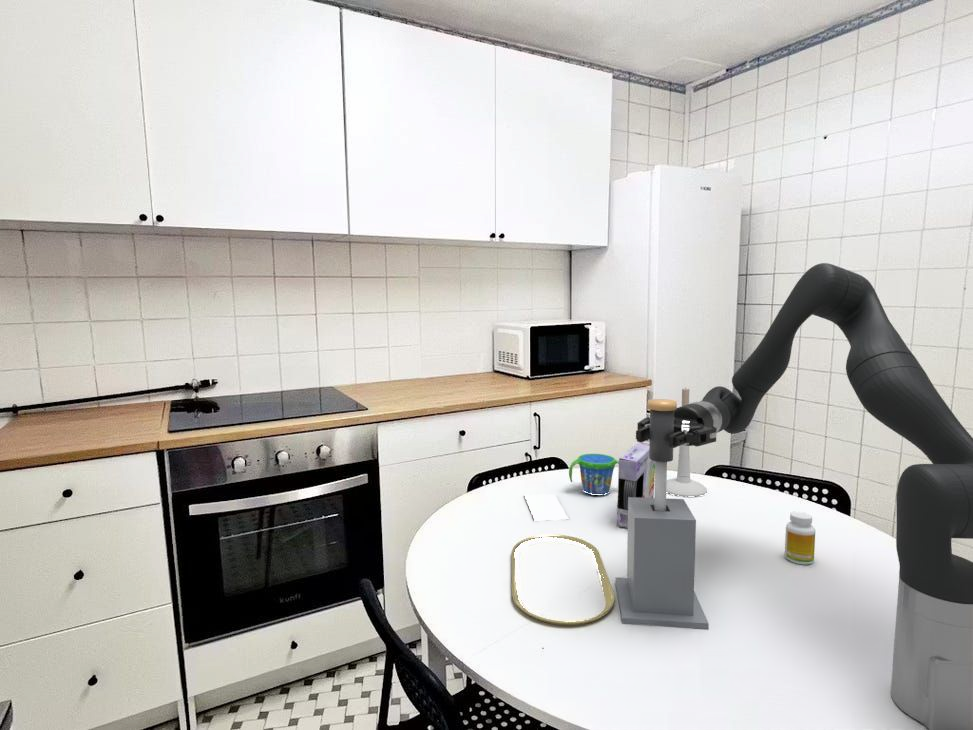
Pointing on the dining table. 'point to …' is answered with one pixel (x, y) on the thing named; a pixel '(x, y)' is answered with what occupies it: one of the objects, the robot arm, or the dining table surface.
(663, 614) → the column
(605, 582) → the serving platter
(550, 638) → the dining table surface
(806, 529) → the supplement bottle
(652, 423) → the plunger
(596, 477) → the snack cup
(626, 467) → the cake pan box
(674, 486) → the candlestick
